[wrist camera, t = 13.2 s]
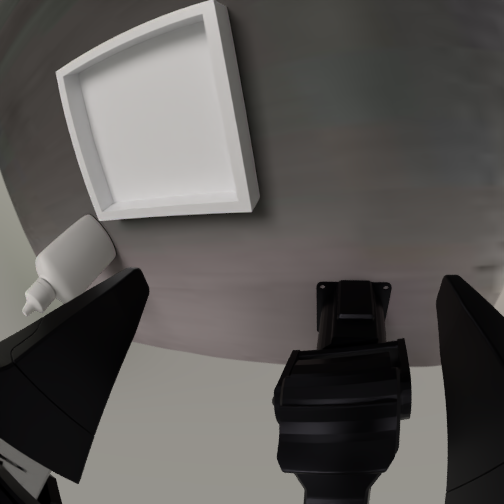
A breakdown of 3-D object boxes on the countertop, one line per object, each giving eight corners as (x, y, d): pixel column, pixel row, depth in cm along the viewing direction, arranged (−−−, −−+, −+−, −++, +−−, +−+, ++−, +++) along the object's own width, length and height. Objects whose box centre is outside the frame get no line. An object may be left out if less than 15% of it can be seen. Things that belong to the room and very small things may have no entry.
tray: (260, 197, 21) (252, 211, 19) (114, 208, 25) (99, 221, 23) (227, 6, 13) (213, -1, 11) (75, 68, 17) (55, 72, 15)
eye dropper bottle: (91, 254, 30) (25, 326, 20) (79, 210, 26) (-1, 281, 17) (119, 261, 29) (52, 343, 19) (108, 216, 26) (24, 296, 16)
